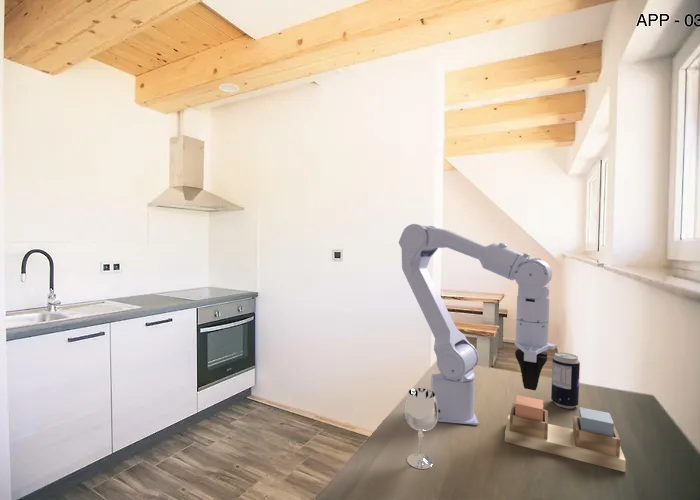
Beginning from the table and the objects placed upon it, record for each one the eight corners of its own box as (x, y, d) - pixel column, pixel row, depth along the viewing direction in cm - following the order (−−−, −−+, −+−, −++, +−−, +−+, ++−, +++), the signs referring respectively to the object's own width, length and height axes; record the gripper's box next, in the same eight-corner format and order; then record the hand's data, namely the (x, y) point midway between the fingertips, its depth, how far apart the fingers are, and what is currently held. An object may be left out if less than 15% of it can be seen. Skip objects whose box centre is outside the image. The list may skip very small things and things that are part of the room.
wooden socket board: (504, 441, 72) (505, 416, 72) (508, 424, 79) (509, 401, 79) (625, 472, 63) (626, 442, 63) (617, 449, 70) (618, 423, 70)
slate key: (581, 433, 67) (581, 417, 67) (578, 422, 71) (579, 407, 71) (613, 440, 65) (613, 423, 65) (609, 428, 69) (609, 413, 69)
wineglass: (413, 448, 68) (415, 384, 68) (442, 460, 65) (444, 392, 65) (396, 462, 64) (398, 393, 64) (427, 475, 60) (429, 403, 60)
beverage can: (582, 411, 86) (584, 360, 86) (555, 408, 87) (557, 357, 87) (572, 401, 92) (574, 353, 91) (547, 398, 93) (549, 351, 92)
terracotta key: (515, 418, 72) (515, 403, 72) (516, 409, 76) (517, 395, 76) (542, 425, 70) (543, 409, 70) (542, 414, 74) (543, 400, 74)
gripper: (556, 329, 65) (553, 406, 65) (554, 316, 77) (552, 380, 78) (512, 324, 68) (510, 398, 68) (517, 312, 81) (515, 374, 81)
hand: (530, 388), depth 73 cm, fingers closed
